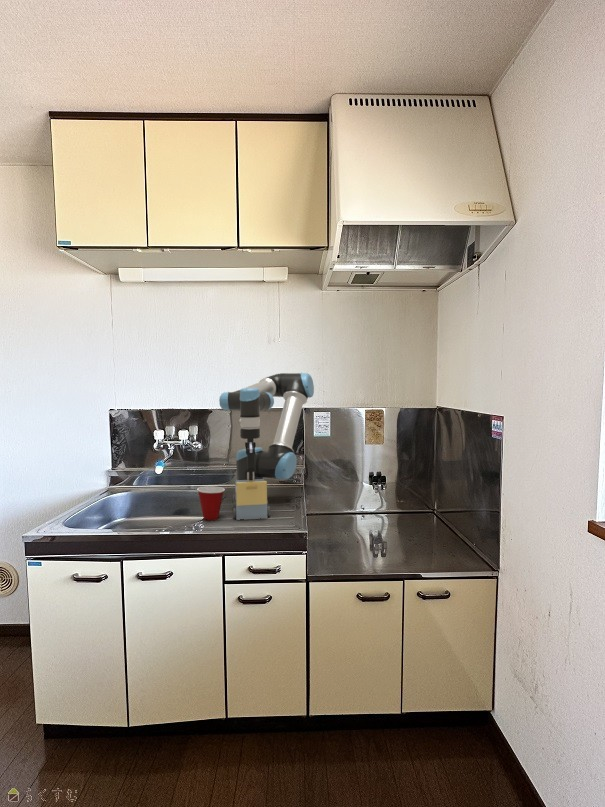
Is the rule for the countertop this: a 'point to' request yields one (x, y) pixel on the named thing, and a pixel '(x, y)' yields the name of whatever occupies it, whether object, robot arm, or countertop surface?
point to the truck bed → (250, 508)
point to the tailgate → (251, 493)
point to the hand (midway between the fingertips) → (250, 487)
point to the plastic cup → (210, 501)
